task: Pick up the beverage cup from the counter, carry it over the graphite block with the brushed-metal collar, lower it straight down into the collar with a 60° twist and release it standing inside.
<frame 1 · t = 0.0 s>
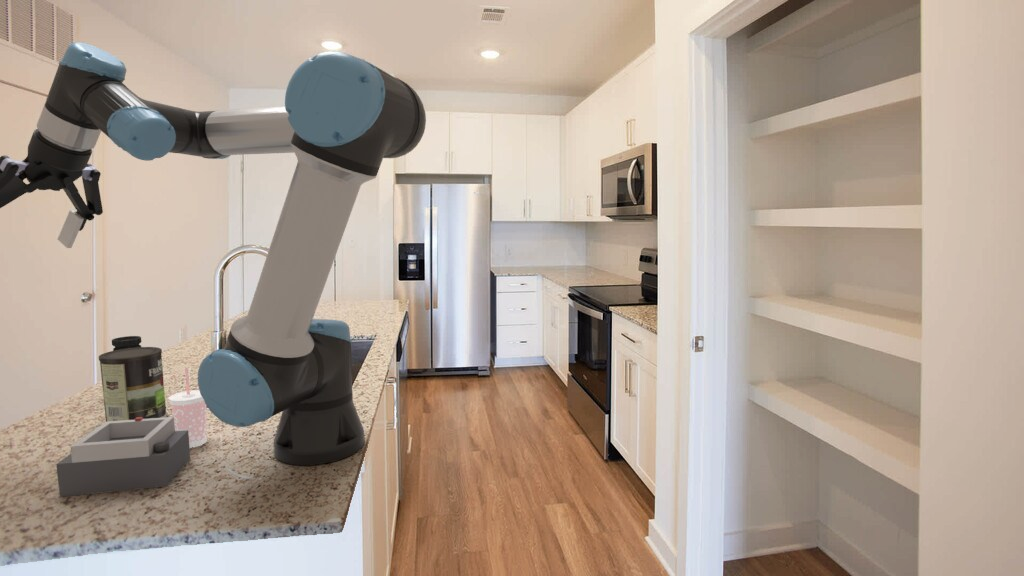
hand: (21, 245, 92), 36 cm above the countertop, tool tilted 35°, fingers open, 13 cm apart
coffee can: (137, 421, 109), on the countertop
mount: (130, 476, 85), on the countertop
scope: (132, 399, 122), on the countertop
beverage cup: (192, 444, 98), on the countertop
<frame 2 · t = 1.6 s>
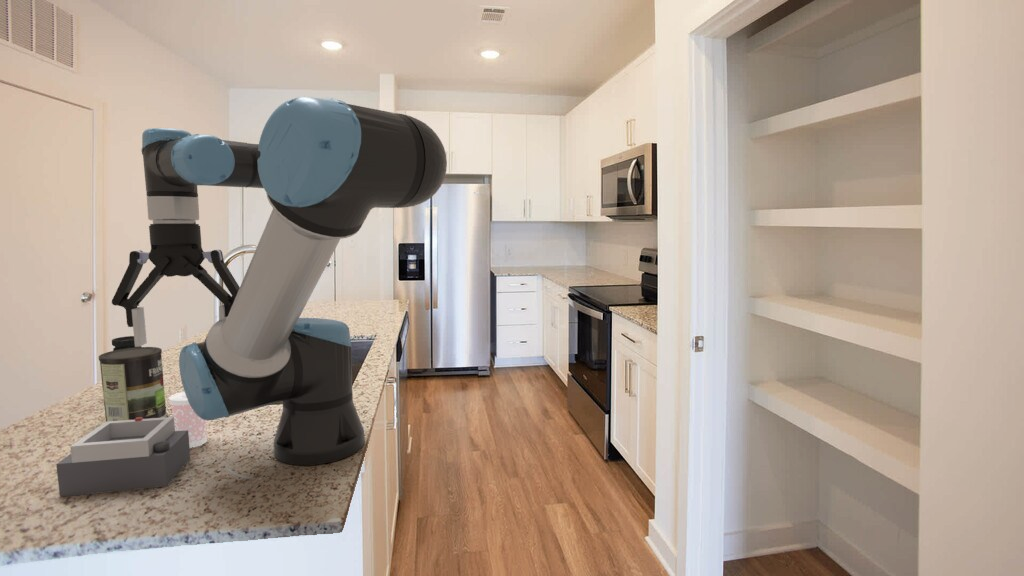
hand: (184, 343, 95), 19 cm above the countertop, tool pointing down, fingers open, 13 cm apart
nothing on the countertop moved.
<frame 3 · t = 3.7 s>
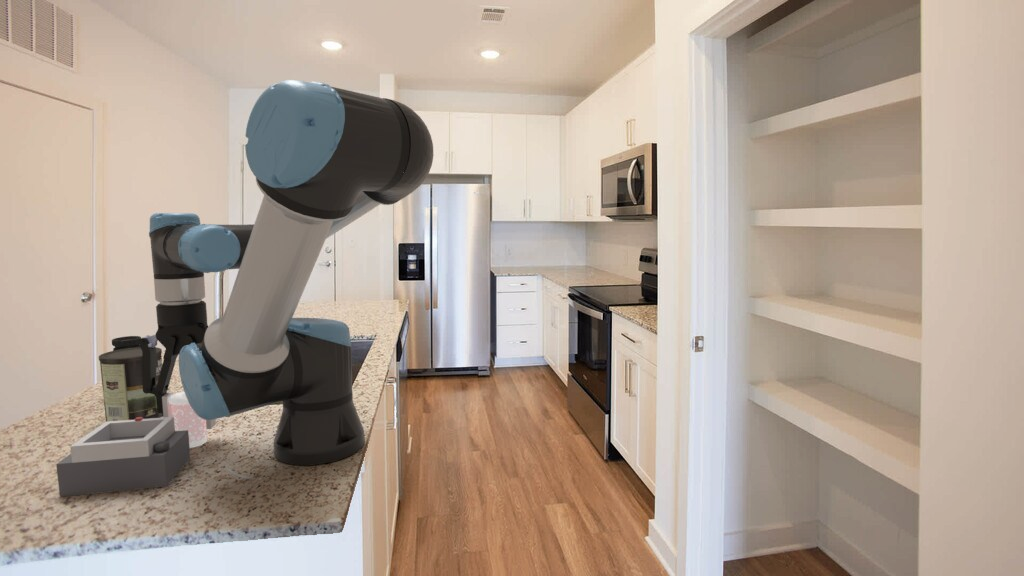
hand: (190, 427, 97), 3 cm above the countertop, tool pointing down, fingers closed on beverage cup, 6 cm apart
beverage cup: (192, 444, 98), on the countertop, touching gripper
everything else where it was.
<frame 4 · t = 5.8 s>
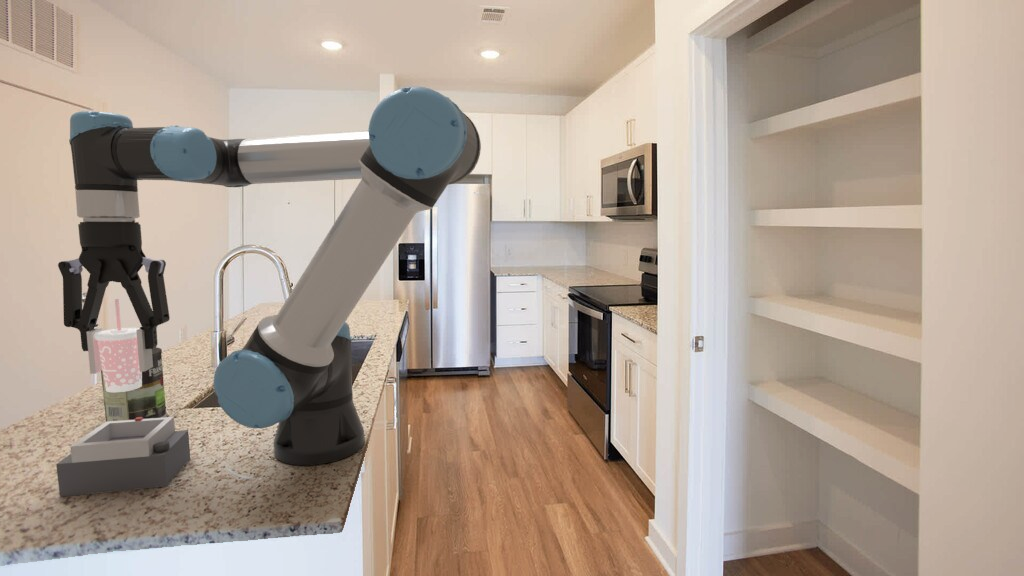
hand: (122, 369, 84), 17 cm above the countertop, tool pointing down, fingers closed on beverage cup, 6 cm apart
beverage cup: (124, 389, 84), point 14 cm above the countertop, touching gripper
everything else where it was.
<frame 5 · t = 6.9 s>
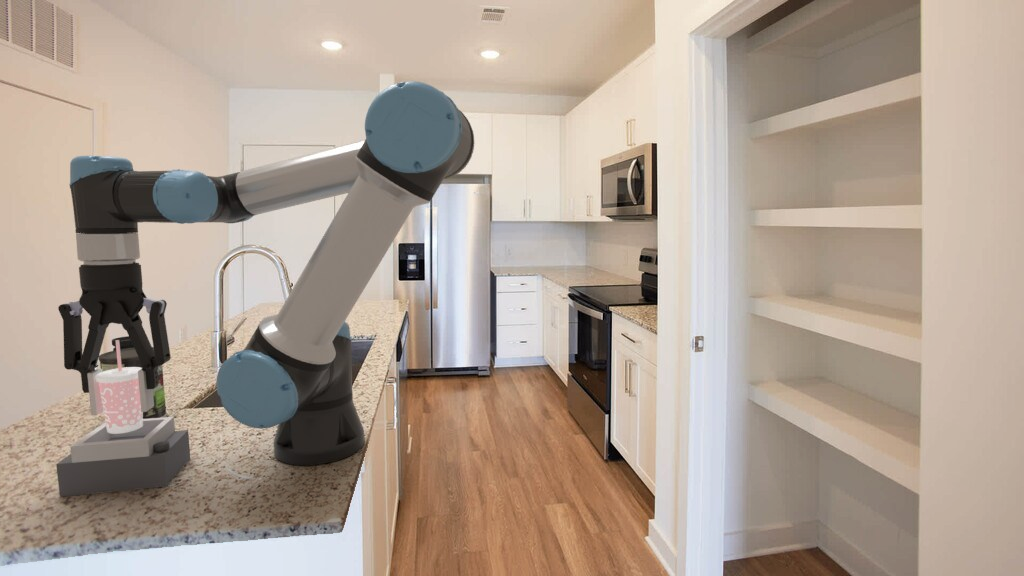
hand: (123, 410, 84), 11 cm above the countertop, tool pointing down, fingers closed on beverage cup, 6 cm apart
beverage cup: (125, 429, 84), point 8 cm above the countertop, touching gripper
everything else where it was.
when the fingers open (10 cm above the countertop, at t = 7.8 s): beverage cup drops 2 cm, resting on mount.
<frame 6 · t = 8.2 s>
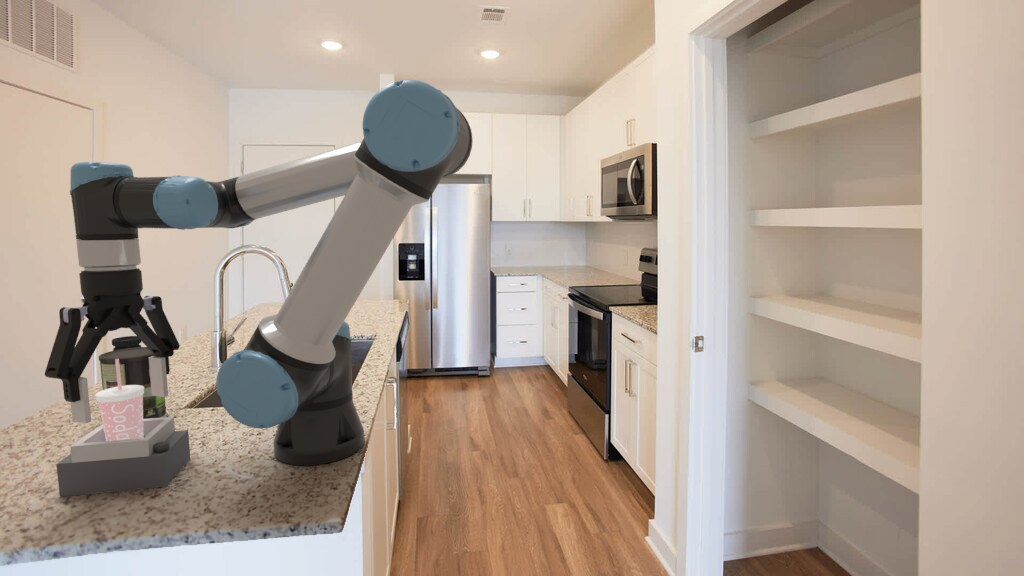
hand: (123, 407, 84), 11 cm above the countertop, tool pointing down, fingers open, 11 cm apart
beverage cup: (126, 447, 84), point 5 cm above the countertop, touching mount
everything else where it was.
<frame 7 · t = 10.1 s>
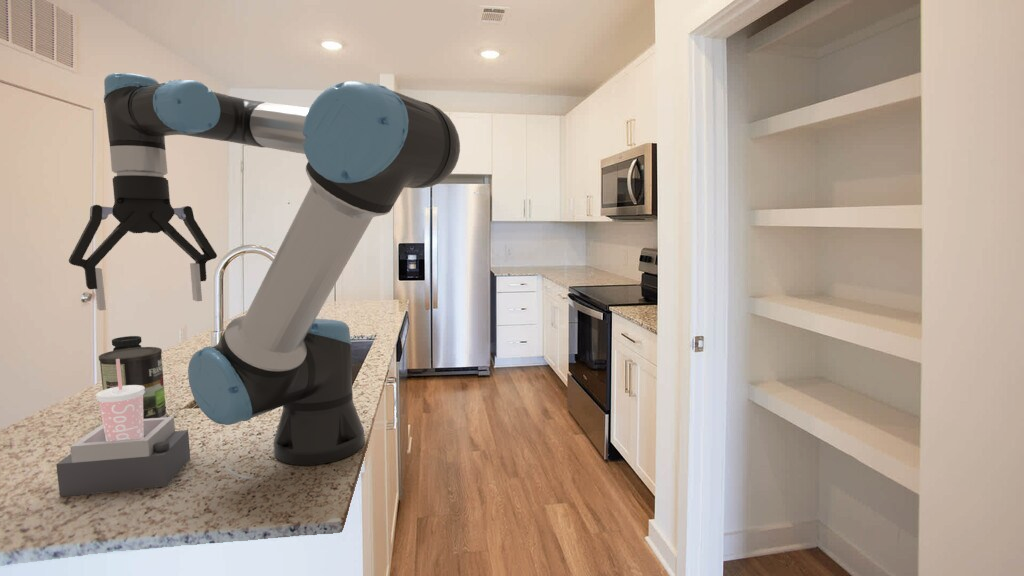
hand: (152, 304, 90), 26 cm above the countertop, tool pointing down, fingers open, 13 cm apart
nothing on the countertop moved.
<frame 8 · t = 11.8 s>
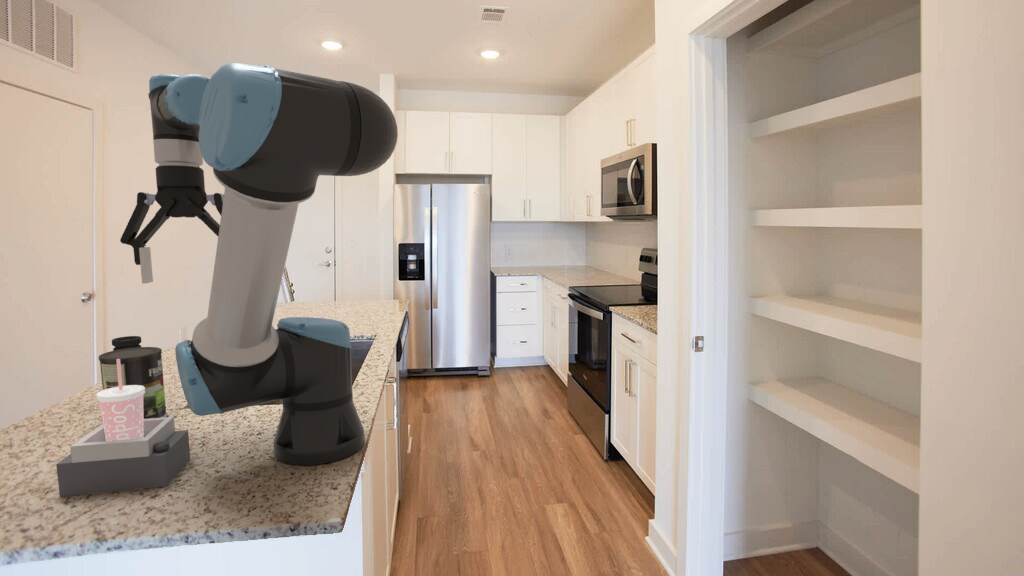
hand: (188, 282, 101), 29 cm above the countertop, tool pointing down, fingers open, 13 cm apart
nothing on the countertop moved.
at the end: beverage cup 0.2 cm off-centre on the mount, point 4.8 cm above the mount's base; beverage cup tilted 0°; the gripper is holding nothing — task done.
